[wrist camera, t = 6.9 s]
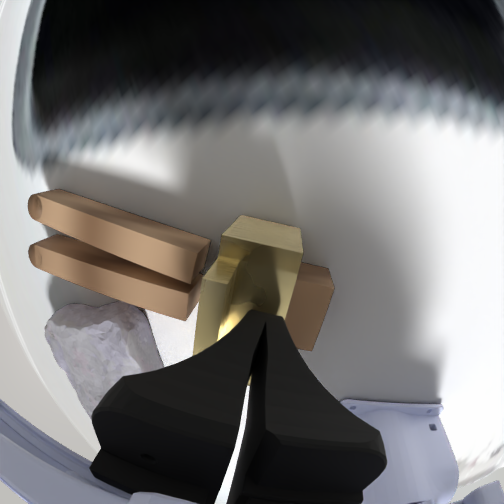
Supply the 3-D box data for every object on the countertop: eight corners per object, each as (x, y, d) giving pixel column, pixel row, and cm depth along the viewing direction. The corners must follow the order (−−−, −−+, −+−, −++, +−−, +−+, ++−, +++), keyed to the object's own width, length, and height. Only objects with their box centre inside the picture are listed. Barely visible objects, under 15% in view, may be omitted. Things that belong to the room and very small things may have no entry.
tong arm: (211, 240, 15) (197, 253, 13) (203, 267, 16) (190, 284, 13) (52, 186, 15) (28, 191, 13) (50, 209, 16) (27, 216, 14)
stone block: (114, 396, 24) (197, 424, 20) (84, 423, 19) (168, 464, 16) (71, 287, 21) (155, 294, 17) (28, 309, 16) (103, 330, 13)
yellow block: (300, 228, 14) (305, 274, 8) (270, 340, 16) (258, 419, 10) (241, 215, 14) (206, 251, 9) (220, 328, 16) (188, 402, 11)
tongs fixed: (328, 268, 15) (334, 288, 12) (309, 325, 16) (311, 351, 14) (51, 204, 16) (26, 212, 14) (52, 253, 17) (29, 264, 15)
